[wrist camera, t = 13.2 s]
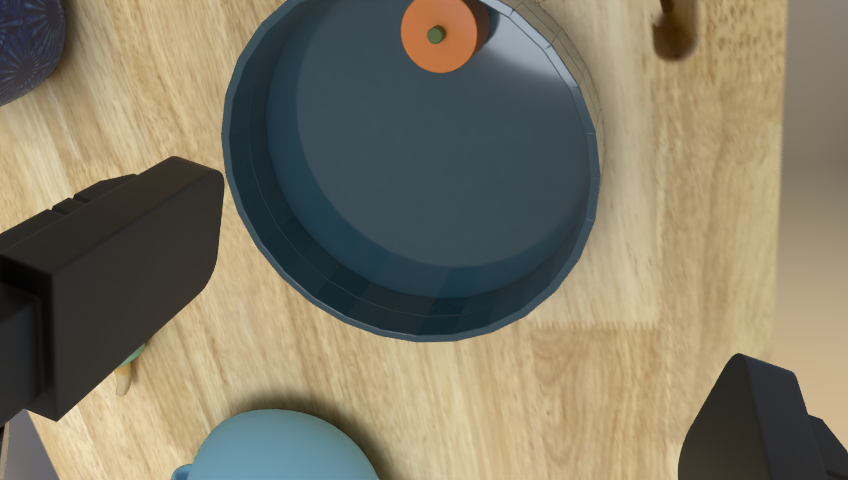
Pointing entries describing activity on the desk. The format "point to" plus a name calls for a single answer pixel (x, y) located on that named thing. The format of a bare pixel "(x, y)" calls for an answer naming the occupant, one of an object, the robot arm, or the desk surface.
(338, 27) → the bowl
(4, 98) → the planter
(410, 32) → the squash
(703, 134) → the desk surface
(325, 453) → the blue sugar bowl
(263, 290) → the desk surface
